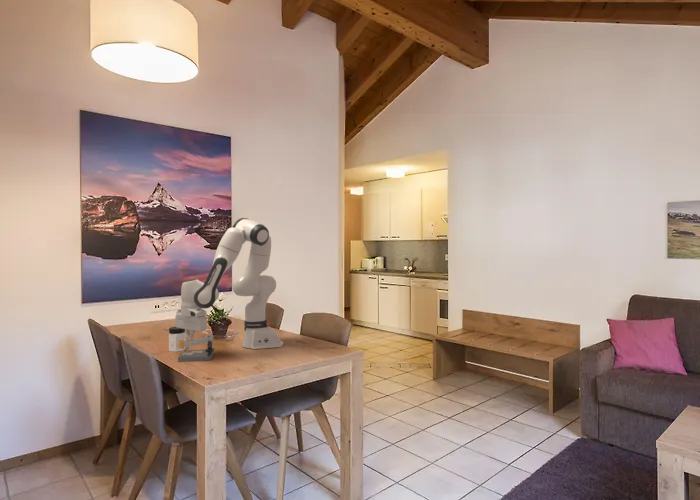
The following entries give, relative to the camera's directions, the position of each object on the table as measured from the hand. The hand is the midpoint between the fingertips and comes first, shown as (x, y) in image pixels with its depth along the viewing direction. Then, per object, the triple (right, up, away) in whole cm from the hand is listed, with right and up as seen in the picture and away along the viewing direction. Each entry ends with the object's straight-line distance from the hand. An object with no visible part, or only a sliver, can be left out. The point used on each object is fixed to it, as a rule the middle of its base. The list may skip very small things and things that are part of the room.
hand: (190, 338), depth 224 cm
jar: (-12, -9, +13) cm, 20 cm away
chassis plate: (+4, -9, -2) cm, 10 cm away
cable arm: (+4, -4, -1) cm, 5 cm away
